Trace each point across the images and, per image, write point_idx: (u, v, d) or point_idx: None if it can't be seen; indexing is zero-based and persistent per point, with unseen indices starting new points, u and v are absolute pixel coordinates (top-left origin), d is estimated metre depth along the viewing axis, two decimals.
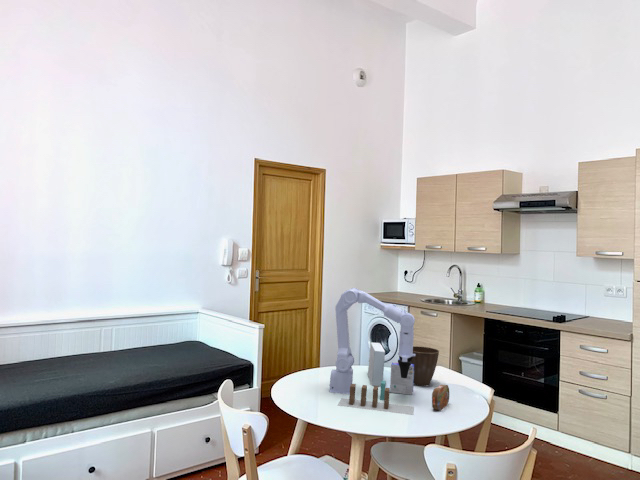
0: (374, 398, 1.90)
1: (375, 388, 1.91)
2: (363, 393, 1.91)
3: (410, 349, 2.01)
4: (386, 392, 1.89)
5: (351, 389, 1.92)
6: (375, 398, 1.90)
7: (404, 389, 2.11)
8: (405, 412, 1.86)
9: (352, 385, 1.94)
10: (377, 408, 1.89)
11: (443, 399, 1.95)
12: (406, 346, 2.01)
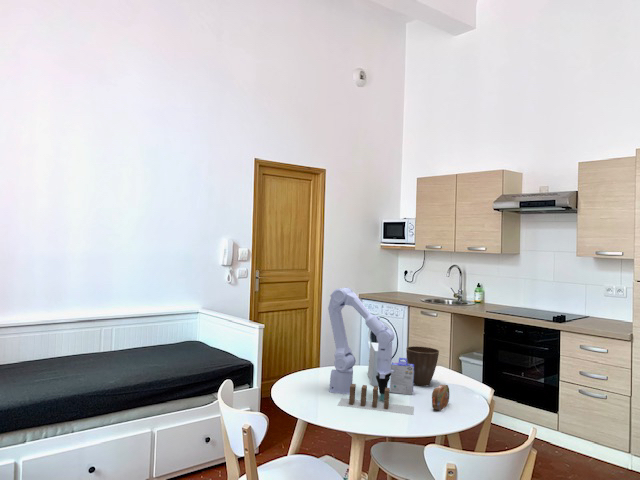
0: (374, 398, 1.90)
1: (375, 388, 1.91)
2: (363, 393, 1.91)
3: (388, 365, 2.00)
4: (386, 392, 1.89)
5: (351, 389, 1.92)
6: (375, 398, 1.90)
7: (404, 389, 2.11)
8: (405, 412, 1.86)
9: (352, 385, 1.94)
10: (377, 408, 1.89)
11: (443, 399, 1.95)
12: (384, 362, 2.00)
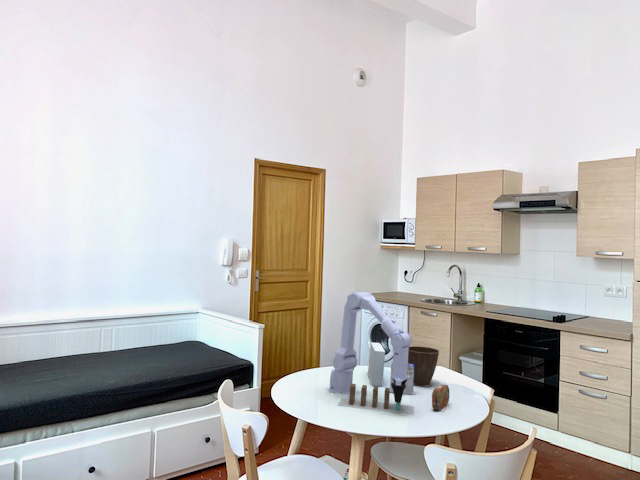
0: (374, 398, 1.90)
1: (375, 388, 1.91)
2: (363, 393, 1.91)
3: (404, 371, 1.88)
4: (386, 392, 1.89)
5: (351, 389, 1.92)
6: (375, 398, 1.90)
7: (404, 389, 2.11)
8: (405, 412, 1.86)
9: (352, 385, 1.94)
10: (377, 408, 1.89)
11: (442, 399, 1.95)
12: (400, 368, 1.87)
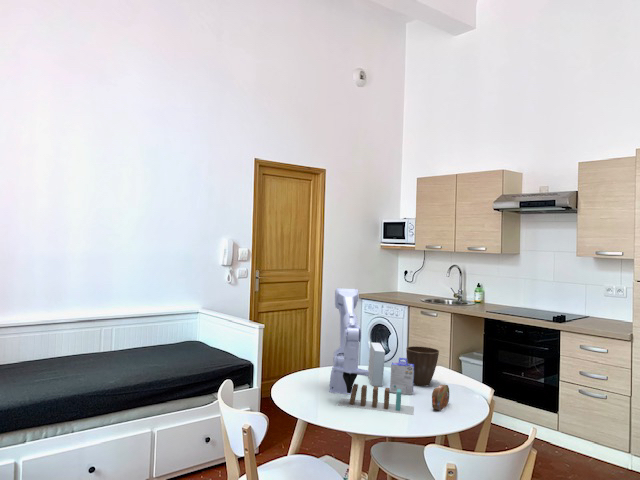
0: (374, 398, 1.90)
1: (375, 388, 1.91)
2: (363, 393, 1.91)
3: (344, 363, 1.93)
4: (386, 392, 1.89)
5: (353, 389, 1.92)
6: (375, 398, 1.90)
7: (404, 389, 2.11)
8: (405, 412, 1.86)
9: (355, 385, 1.94)
10: (377, 408, 1.89)
11: (442, 399, 1.95)
12: None
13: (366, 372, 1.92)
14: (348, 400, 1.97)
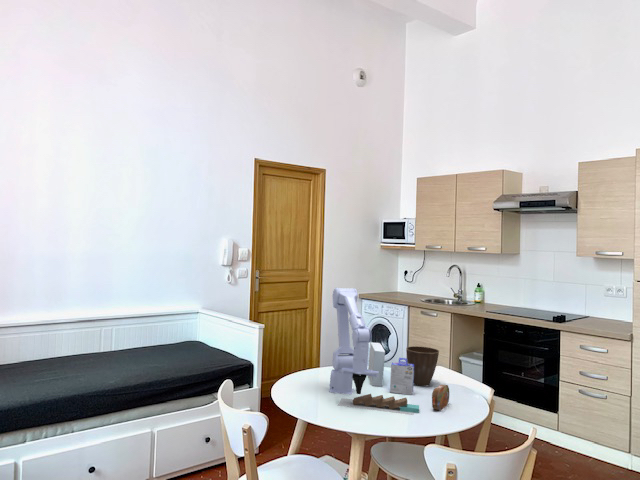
0: (385, 403, 1.89)
1: (394, 400, 1.90)
2: (377, 401, 1.90)
3: (354, 364, 1.92)
4: (404, 403, 1.87)
5: (367, 399, 1.91)
6: (385, 404, 1.89)
7: (404, 389, 2.11)
8: (405, 412, 1.86)
9: (370, 397, 1.92)
10: (377, 408, 1.89)
11: (442, 399, 1.95)
12: (353, 360, 1.94)
13: (376, 373, 1.91)
14: (348, 400, 1.97)
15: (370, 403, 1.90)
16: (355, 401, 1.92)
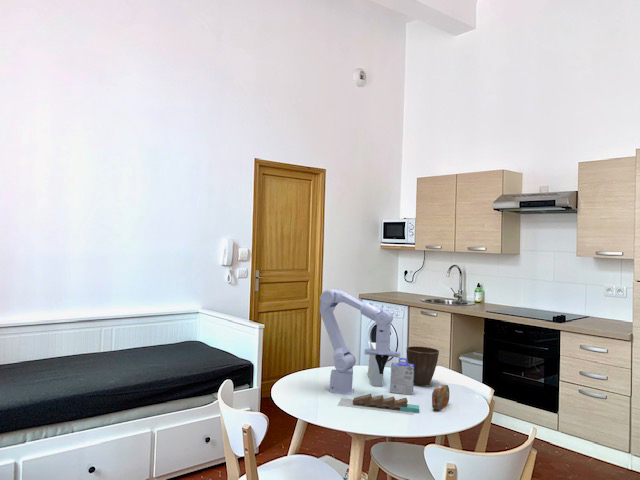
0: (385, 403, 1.89)
1: (394, 400, 1.90)
2: (377, 401, 1.90)
3: (377, 346, 2.01)
4: (404, 403, 1.87)
5: (367, 399, 1.91)
6: (385, 404, 1.89)
7: (404, 389, 2.11)
8: (405, 412, 1.86)
9: (370, 397, 1.92)
10: (377, 408, 1.89)
11: (443, 399, 1.95)
12: (376, 342, 2.03)
13: (398, 354, 2.00)
14: (348, 400, 1.97)
15: (370, 403, 1.90)
16: (355, 401, 1.92)
